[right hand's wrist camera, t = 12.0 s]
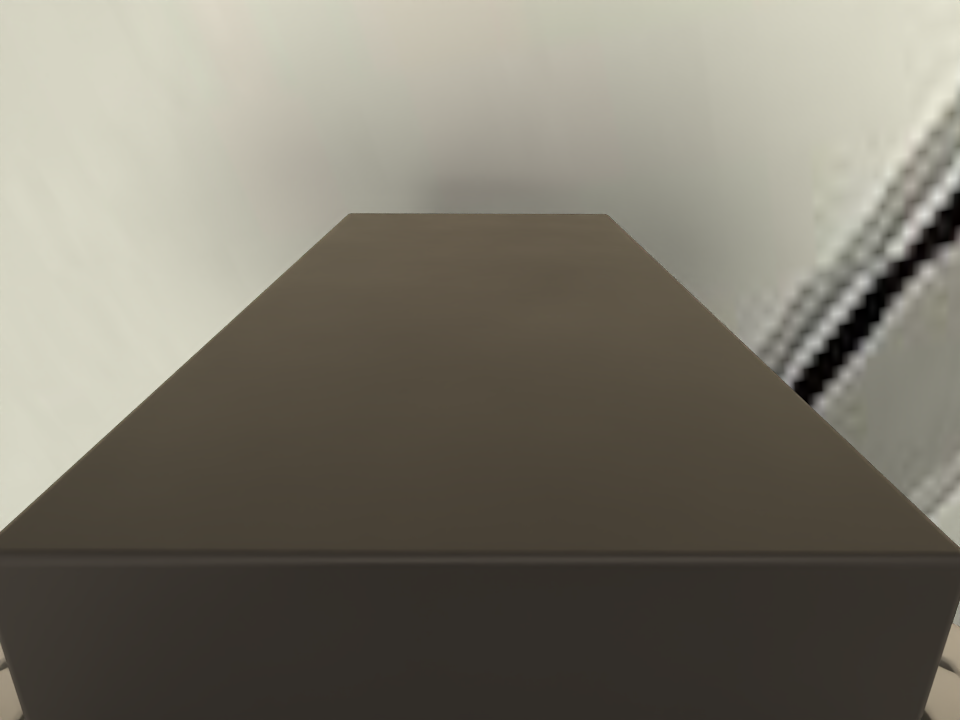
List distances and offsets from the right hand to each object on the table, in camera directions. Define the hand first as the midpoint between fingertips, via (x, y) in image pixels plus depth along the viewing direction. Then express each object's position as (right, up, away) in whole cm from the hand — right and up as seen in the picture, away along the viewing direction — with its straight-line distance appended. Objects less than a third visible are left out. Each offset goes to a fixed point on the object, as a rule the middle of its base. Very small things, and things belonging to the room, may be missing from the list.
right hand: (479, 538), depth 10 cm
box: (0, -5, +10) cm, 11 cm away
